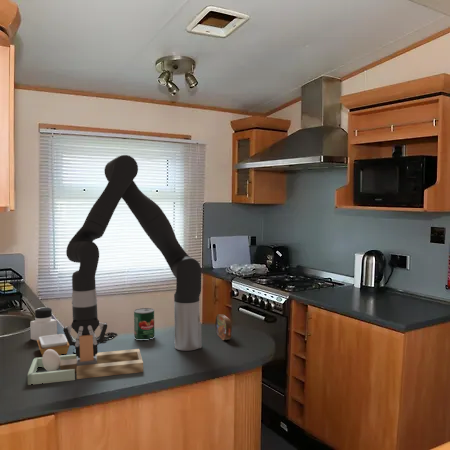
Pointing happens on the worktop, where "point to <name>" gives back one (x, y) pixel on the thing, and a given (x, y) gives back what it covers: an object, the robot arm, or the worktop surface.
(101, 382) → the worktop surface
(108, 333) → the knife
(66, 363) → the chip block
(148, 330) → the canned tomato
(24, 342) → the worktop surface
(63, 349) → the soap dish
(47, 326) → the medicine bottle
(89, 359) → the tan block grey base
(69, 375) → the tray
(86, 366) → the shallow wooden box
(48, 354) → the egg
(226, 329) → the tin
